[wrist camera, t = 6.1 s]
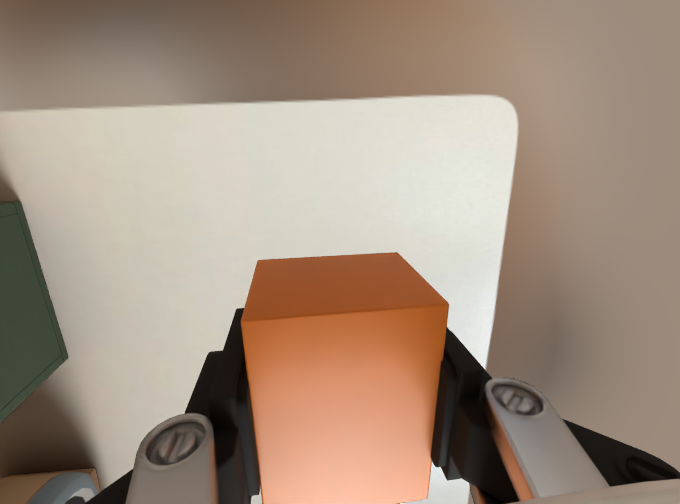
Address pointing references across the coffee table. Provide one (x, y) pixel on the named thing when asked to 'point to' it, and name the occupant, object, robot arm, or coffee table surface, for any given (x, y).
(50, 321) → the bin
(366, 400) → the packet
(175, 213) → the coffee table surface
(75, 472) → the alarm clock
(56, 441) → the coffee table surface
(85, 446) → the coffee table surface
